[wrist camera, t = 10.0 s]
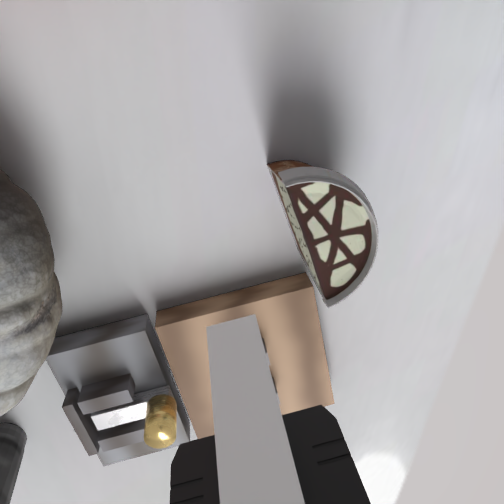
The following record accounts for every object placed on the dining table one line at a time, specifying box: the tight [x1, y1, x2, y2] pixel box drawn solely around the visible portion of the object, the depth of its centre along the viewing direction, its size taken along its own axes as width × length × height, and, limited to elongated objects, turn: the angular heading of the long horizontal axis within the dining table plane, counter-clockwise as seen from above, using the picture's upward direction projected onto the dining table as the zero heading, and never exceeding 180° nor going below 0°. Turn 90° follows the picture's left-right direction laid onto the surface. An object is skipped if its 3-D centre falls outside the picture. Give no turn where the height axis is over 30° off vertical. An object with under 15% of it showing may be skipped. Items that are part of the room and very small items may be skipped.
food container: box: [267, 160, 378, 308], centre depth 39 cm, size 12×6×10 cm, turn 20°
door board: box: [46, 272, 334, 466], centre depth 48 cm, size 27×16×5 cm, turn 102°
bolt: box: [91, 385, 177, 449], centre depth 44 cm, size 8×3×6 cm, turn 102°
